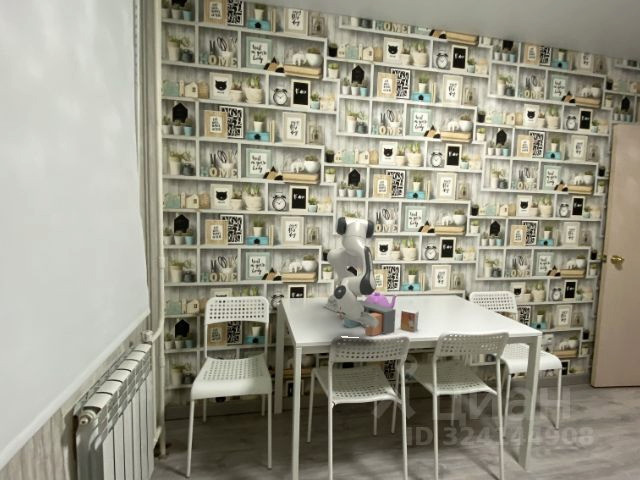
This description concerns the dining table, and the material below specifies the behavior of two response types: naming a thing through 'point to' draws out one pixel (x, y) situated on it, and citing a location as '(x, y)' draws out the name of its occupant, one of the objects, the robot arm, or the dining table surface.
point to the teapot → (381, 300)
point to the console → (388, 313)
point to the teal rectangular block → (350, 323)
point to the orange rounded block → (379, 328)
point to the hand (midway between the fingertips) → (367, 325)
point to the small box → (409, 320)
